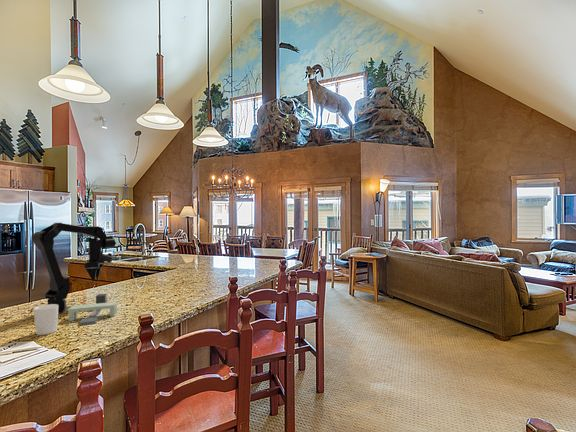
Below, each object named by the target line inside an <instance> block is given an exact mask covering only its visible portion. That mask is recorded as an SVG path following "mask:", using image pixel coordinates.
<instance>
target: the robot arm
mask: <svg viewBox="0 0 576 432" xmlns="http://www.w3.org/2000/svg"><path fill="white" fill-rule="evenodd" d="M61 232H66V233H67V232H68V233H74V234H80V235H84V236H86V238H85V240H84V242H85V243H88V252H87V255H88V260H87V262H86V263H85V264H84V269H85V270H86V271H87V273H88V275H89V277H90V279H91V280H92V281H95V280H96V278H99V277H100V273H101V269H102V268H103V266H104V265H105V263H108V264H111V263H112V262H113V260H114V256H113V253H111V252H110V253H109V252H108V253H107V254H106V253H105V254H104V252H103V250H105V249H107V250H108V249H114V248H115V247H116V245H117V242H116V240H115V238H114V236H113V235H108V236H107V234H106V233H105V232H104V230H103V228H102V226H99V225H98V226H97V225H96V226H95V225H93V226H91V225H89V226H86V225H85V226H82V225H76V224H69V223H63V222H53V223H52V224H50V225H49V226H47V227H45V228H43V229H41V230H39V231H36V232H34V233H33V234H32V236H31V241H32V242H33V244H34V246H35V247H36V248H37V249H38V250H39V251H40V253H41V256H42V259H43V261H44V264H45V266H46V270H47V272H48V275H49V278H50V279H49V289H48V290H47V291H46V293H45V294H44V298H45V299H46V300H47V305H48V304H57V305H58V313H63V312H64V311H65V310H67V300H66V299H67V298H68V295H69V292H70V290H71V286H72V284H71V282H70V278H69V277H65V276H63V274H62V271H61V267H60V266H59V263H58V260H57V256H56V254H55V251H54V245H55V240H54V239H55V238H56V237H57V236H59V235H60V233H61ZM102 249H103V250H102Z"/></svg>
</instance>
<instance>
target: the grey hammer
mask: <svg viewBox="0 0 576 432" xmlns="http://www.w3.org/2000/svg"><path fill="white" fill-rule="evenodd" d="M107 301H108V294H107V293H99V294H98V293H97V295H96V296H95V304H98V303H108V302H107ZM103 310H104V309H98V310H92V312H91V313H89V314H88V318H92V317H99V315H100V314H101V312H102V311H103Z"/></svg>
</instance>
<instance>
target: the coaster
mask: <svg viewBox="0 0 576 432" xmlns="http://www.w3.org/2000/svg"><path fill="white" fill-rule="evenodd" d="M98 321H99V316H97V317H92V318H89V317H83V318H82V319H81V320H80V321H79V326H87V325H96V324H97V322H98Z"/></svg>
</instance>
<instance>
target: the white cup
mask: <svg viewBox="0 0 576 432" xmlns="http://www.w3.org/2000/svg"><path fill="white" fill-rule="evenodd" d="M33 316H34V327H35V334H36V335H38V336H42V335H43V336H46V335H49V334H53V333H55V332H57V331H58V324H59V323H58V322H59V312H58V305H57V304H48V303H47V304H44V305H39V306H35V307H33Z"/></svg>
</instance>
